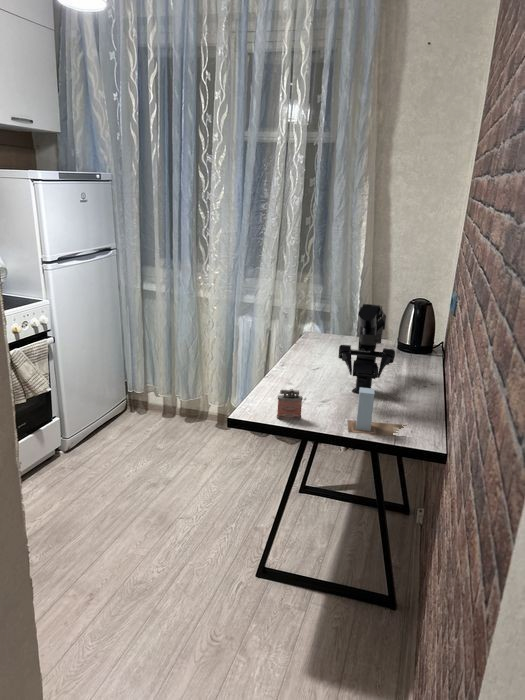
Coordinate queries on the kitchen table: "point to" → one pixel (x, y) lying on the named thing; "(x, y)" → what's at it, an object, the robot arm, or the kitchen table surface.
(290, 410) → the lighter
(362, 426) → the tall block
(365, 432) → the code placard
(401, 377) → the kitchen table surface
